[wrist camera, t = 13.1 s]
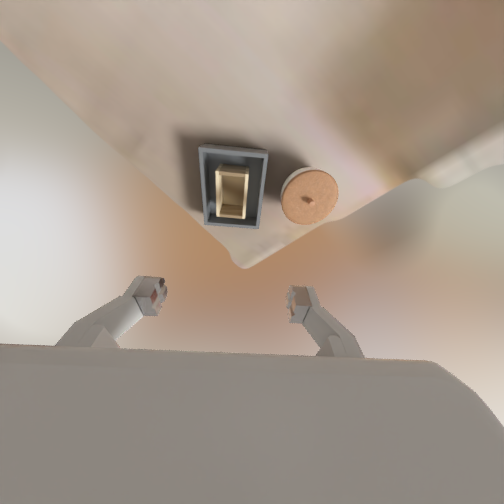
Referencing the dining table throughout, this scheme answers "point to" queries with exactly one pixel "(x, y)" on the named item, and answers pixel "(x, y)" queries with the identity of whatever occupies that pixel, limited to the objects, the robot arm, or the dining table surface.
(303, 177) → the lidded jar
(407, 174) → the dining table surface
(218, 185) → the pine crate
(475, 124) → the dining table surface
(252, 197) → the grey crate
